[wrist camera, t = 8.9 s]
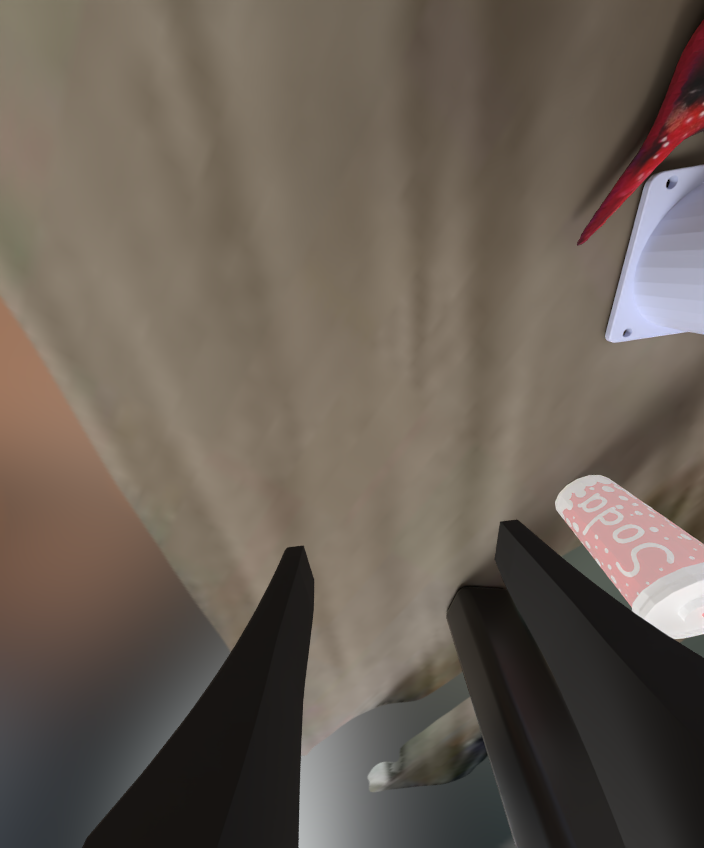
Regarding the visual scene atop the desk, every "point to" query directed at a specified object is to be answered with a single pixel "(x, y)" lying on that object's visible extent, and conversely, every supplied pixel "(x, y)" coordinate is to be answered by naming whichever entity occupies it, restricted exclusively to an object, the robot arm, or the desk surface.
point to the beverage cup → (639, 553)
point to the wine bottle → (528, 728)
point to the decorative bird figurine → (663, 129)
